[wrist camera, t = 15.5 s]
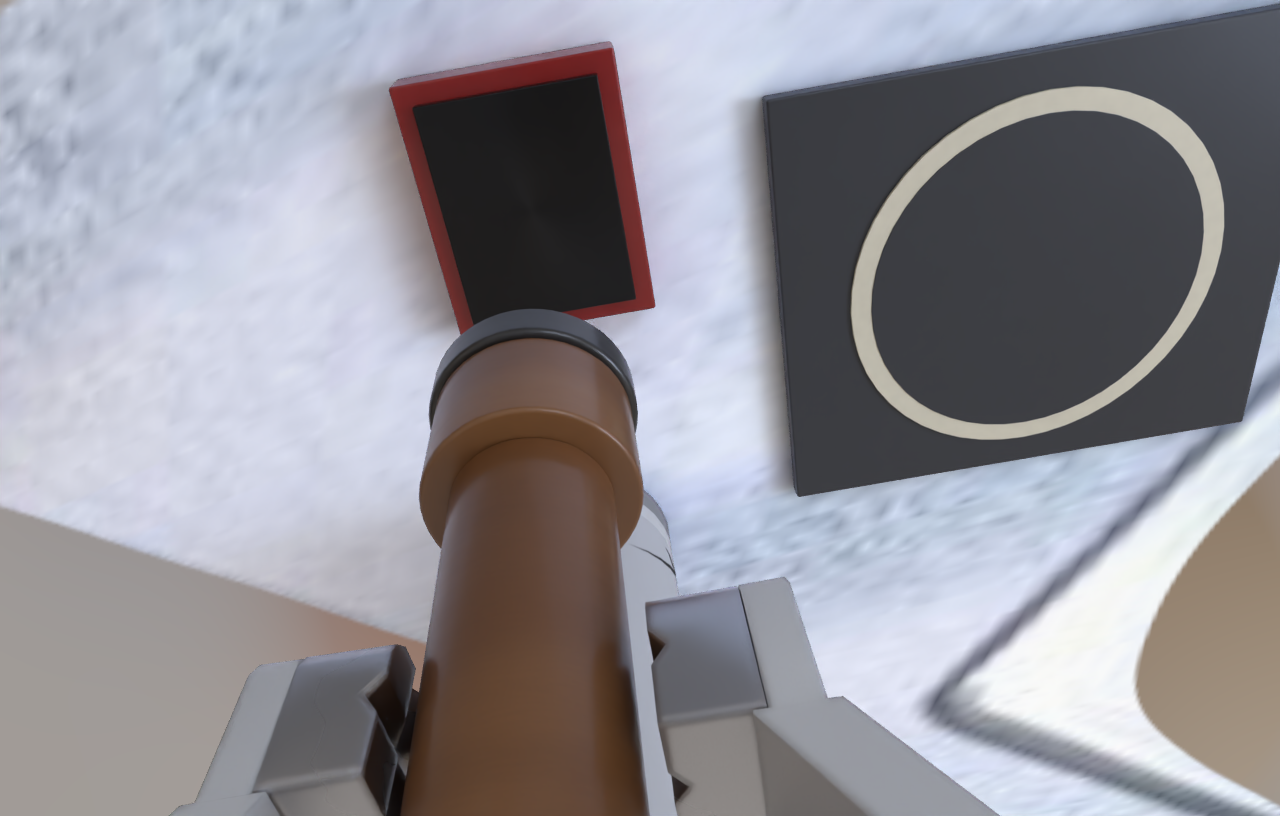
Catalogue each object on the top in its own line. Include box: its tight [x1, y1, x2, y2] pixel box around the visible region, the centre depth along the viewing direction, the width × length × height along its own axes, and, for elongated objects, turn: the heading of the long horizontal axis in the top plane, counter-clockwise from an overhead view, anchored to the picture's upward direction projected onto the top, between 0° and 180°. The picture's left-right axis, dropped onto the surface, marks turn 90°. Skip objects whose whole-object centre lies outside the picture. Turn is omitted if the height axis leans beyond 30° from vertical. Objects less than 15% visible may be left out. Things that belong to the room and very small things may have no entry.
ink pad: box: [389, 42, 655, 335], centre depth 23 cm, size 7×6×2 cm
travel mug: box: [621, 491, 679, 816], centre depth 21 cm, size 6×7×20 cm
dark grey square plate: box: [762, 4, 1280, 497], centre depth 26 cm, size 13×15×1 cm
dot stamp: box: [400, 309, 650, 816], centre depth 9 cm, size 3×3×12 cm
